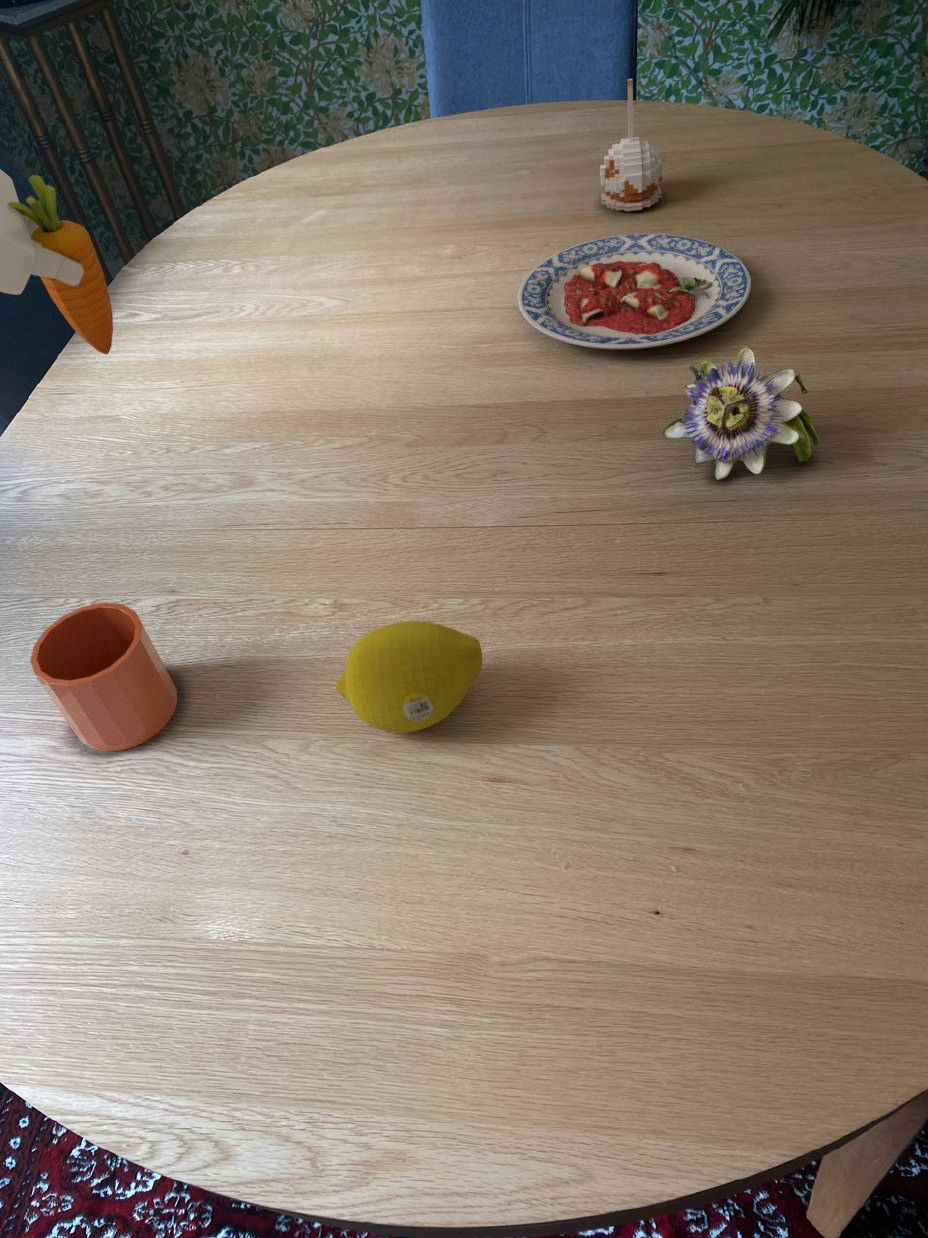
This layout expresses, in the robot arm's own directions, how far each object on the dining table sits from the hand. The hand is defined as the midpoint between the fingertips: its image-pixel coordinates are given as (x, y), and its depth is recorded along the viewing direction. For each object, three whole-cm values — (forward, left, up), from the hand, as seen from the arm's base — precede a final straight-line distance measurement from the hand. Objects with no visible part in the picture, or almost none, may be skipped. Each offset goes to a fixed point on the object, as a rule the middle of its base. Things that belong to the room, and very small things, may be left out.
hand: (74, 260), depth 81 cm
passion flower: (+54, -11, -24) cm, 60 cm away
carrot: (-1, 0, -9) cm, 9 cm away
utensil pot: (-2, -28, -24) cm, 37 cm away
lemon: (+21, -34, -24) cm, 47 cm away
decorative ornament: (+59, +45, -24) cm, 78 cm away
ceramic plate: (+52, +19, -24) cm, 60 cm away
